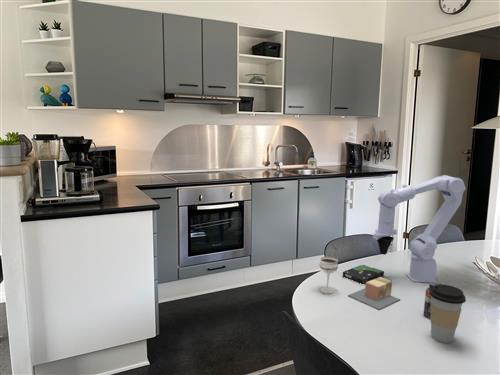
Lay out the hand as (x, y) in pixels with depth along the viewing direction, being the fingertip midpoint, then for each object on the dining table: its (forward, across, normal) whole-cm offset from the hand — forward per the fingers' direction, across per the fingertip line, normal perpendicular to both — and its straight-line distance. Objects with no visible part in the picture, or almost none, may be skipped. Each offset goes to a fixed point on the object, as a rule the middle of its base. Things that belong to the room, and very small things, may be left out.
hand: (383, 253), depth 153 cm
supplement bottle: (+11, +15, +28) cm, 34 cm away
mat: (+10, +19, +9) cm, 24 cm away
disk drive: (+11, +5, -5) cm, 13 cm away
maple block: (+8, +12, +9) cm, 17 cm away
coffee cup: (+11, +26, +36) cm, 45 cm away
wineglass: (+11, +28, -6) cm, 30 cm away
